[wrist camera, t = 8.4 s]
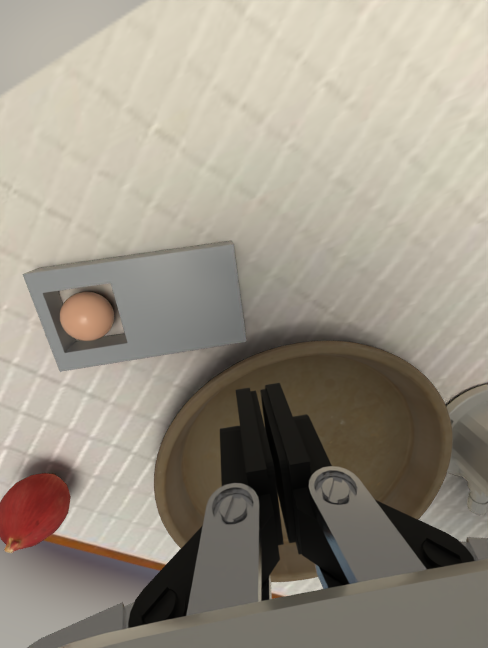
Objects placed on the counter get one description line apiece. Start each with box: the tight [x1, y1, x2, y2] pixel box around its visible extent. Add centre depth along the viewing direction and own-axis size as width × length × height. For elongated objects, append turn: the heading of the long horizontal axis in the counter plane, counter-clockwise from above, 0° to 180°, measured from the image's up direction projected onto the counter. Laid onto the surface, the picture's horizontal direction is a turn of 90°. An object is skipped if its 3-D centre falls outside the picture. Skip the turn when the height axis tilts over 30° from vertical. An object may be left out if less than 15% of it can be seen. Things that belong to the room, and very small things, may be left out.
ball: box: [60, 292, 114, 341], centre depth 26 cm, size 4×4×4 cm
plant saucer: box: [154, 341, 453, 582], centre depth 35 cm, size 31×31×5 cm
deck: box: [23, 241, 247, 372], centre depth 27 cm, size 8×16×2 cm, turn 97°
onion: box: [0, 473, 71, 553], centre depth 30 cm, size 6×6×8 cm
